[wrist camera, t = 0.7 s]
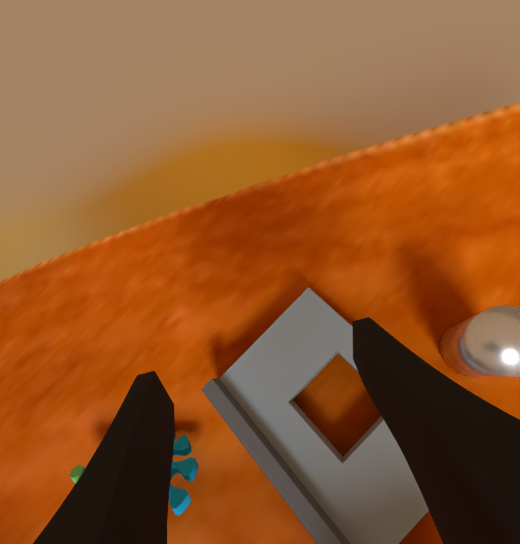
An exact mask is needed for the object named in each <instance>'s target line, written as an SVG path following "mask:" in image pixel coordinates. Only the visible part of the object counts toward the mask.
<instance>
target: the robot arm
mask: <svg viewBox="0 0 520 544" xmlns="http://www.w3.org/2000/svg"><path fill="white" fill-rule="evenodd" d="M353 360H354V363H355V365H356V367H357V370H358V372H359V375H360V377H361V379H362V381H363V384H364V386H365V387H366V389H367V391H368V393H369V395H370V396H371V398H372V400H373V402H374V403H375V405H376V407H377V409H378V410H379V412H380V414H381V416H382V417H383V419H384V421H385V423H386V424H387V426H388V428H389V430H390V431H391V433H392V435H393V437H394V438H395V440H396V442H397V443H398V445H399V447H400V449H401V451H402V453H403V455H404V457H405V459H406V461H407V463H408V465H409V467H410V470H411V472H412V474H413V476H414V478H415V480H416V483H417V485H418V487H419V489H420V491H421V494H422V496H423V498H424V500H425V502H426V505H427V507H428V509H429V511H430V514H431V516H432V518H433V520H434V523H435V525H436V527H437V530H438V532H439V534H440V537H441V539H442V541H443V544H520V420H519V419H517V418H515V417H513V416H511V415H509V414H508V413H506V412H504V411H502V410H500V409H499V408H497V407H495V406H493V405H492V404H490V403H488V402H486V401H485V400H483V399H481V398H480V397H478V396H476V395H475V394H473V393H471V392H470V391H468V390H466V389H465V388H463V387H462V386H460V385H459V384H457V383H455V382H454V381H452V380H451V379H449V378H448V377H446V376H445V375H444V374H442V373H441V372H439V371H438V370H436V369H435V368H433V367H432V366H431V365H429V364H428V363H426V362H425V361H424V360H422V359H421V358H420V357H418V356H417V355H416V354H414V353H413V352H412V351H410V350H409V349H408V348H406V347H405V346H404V345H403V344H401V343H400V342H399V341H398V340H396V339H395V338H394V337H393V336H391V335H390V334H389V333H388V332H387V331H385V330H384V329H383V328H382V327H381V326H379V325H378V324H377V323H376V322H375V321H373V320H372V319H371V318H369V317H368V318H364V319H360V320H356V321H353ZM174 435H175V425H174V404H173V402H172V400H171V399H170V397H169V395H168V393H167V392H166V390H165V388H164V386H163V385H162V383H161V381H160V380H159V378H158V376H157V374H156V373H155V371H153V372H149V373H145V374H141V375H137V377H136V378H135V380H134V382H133V384H132V386H131V388H130V390H129V392H128V394H127V396H126V397H125V399H124V401H123V403H122V405H121V407H120V409H119V411H118V413H117V415H116V416H115V418H114V420H113V422H112V424H111V425H110V427H109V429H108V431H107V433H106V434H105V436H104V438H103V440H102V442H101V443H100V445H99V447H98V448H97V450H96V452H95V453H94V455H93V457H92V458H91V460H90V462H89V463H88V465H87V467H86V468H85V470H84V471H83V473H82V475H81V476H80V478H79V479H78V481H77V482H76V484H75V486H74V487H73V489H72V490H71V492H70V493H69V495H68V496H67V497H66V499H65V500H64V502H63V503H62V505H61V506H60V508H59V509H58V510H57V512H56V513H55V515H54V516H53V517H52V519H51V520H50V522H49V523H48V524H47V526H46V527H45V528H44V530H43V531H42V532H41V534H40V535H39V536H38V538H37V539H36V540H35V542H34V543H33V544H167V514H168V500H169V490H170V479H171V469H172V458H173V447H174Z"/></svg>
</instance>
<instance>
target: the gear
mask: <svg viewBox="0 0 520 544" xmlns="http://www.w3.org/2000/svg"><path fill="white" fill-rule="evenodd" d="M175 438H176V436H175V435H174V439H175ZM190 453H191V445H190V442H189V440H188V438H187V436H186V435H185V436H182V437H180V438H179V439H178V440H177V441H176V442H175V443H174V447H173V456H174V455H180V456H187V455H189V454H190ZM84 470H85V468H84V467H83V466H82V465H78V466H76V467H75V468H74V469H73V470H72V471H71V473H70V477H71V478H72V480H73V481H74V483H75V484H76V482H77V481H78V479H79V478H80V476H81V475H82V473H83V471H84ZM197 470H198V464H197V462H196V459H194V458H188V459H186V460H184V461H180V462H172V469H171V478H172V477H173V476H174V475H175V474H178V473H180V474H182V475H183V477H184V479H185V480H187V481H192V480H194V478H195V477H196V474H197ZM170 480H171V479H170ZM169 497H170V506H171V507H172V509H173V511H174V513H175V514H176V515H180V514H182V513H183V512H184V510H185V509H186V508H187V507H188V505H189V504H190V502H191V499H190V497H189V495H188V493H187V491H186V490H185V489H179V488H175V487H173V486H172V485H171V484H170V490H169Z"/></svg>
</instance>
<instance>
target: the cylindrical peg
mask: <svg viewBox="0 0 520 544" xmlns="http://www.w3.org/2000/svg"><path fill="white" fill-rule="evenodd" d="M440 353H441V356H442V358H443V360H444V361H445V363H446V364H447V365H448V366H449V367H450V368H451V369H452V370H454V371H455V372H457V373H459V374H461V375H464V376H469V377H503V376H520V308H518V307H514V306H496V307H492V308H489V309H487V310H485V311H483V312H481V313H479V314H477V315H475V316H473V317H471V318H469V319H467V320H465V321H463V322H461V323H459V324H457V325H455V326H453V327H451V328H449V329H448V330H447V331H445V333H444V334H443V335H442V337H441V340H440Z"/></svg>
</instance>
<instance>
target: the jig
mask: <svg viewBox="0 0 520 544" xmlns="http://www.w3.org/2000/svg"><path fill="white" fill-rule="evenodd" d="M337 354H339V355H340V356H341V357H342V358H343V359H344V360H345V361H346V362H348V363H349V364H350V365H351V366H352V367H353V368H354V369H355V370H356V371H357V372H358V370H357V367H356V365H355V363H354V360H353V327H352V326H351V325H350V324H349V323H348V322H347V321H346V320H345V319H343V318H342V317H341V316H340V315H339V314H338V313H337V312H336V311H335V310H333V309H332V308H331V307H330V306H329V305H328V304H327V303H326V302H324V301H323V300H322V299H321V298H320V297H319V296H318V295H317V294H316V293H314V292H313V291H312V290H311V289H310V288H309V287H308V288H307V289H306V290H305V291H304V292H303V293H302V294H301V295H300V296H299V297H298V298H297V299H296V300H295V301H294V302H293V303H292V305H291V306H290V307H289V308H288V309H287V310H286V311H285V312H284V313H283V314H282V315H281V316H280V317H279V318H278V319H277V320H276V321H275V322H274V323H273V324H272V325H271V326H270V327H269V328H268V329H267V330H266V331H265V332H264V333H263V334H262V335H261V336H260V337H259V338H258V339H257V340H256V341H255V342H254V343H253V344H252V345H251V347H250V348H249V349H248V350H247V351H246V352H245V353H244V354H243V355H242V356H241V357H240V358H239V359H238V360H237V361H236V362H235V363H234V364H233V365H232V366H231V367H230V368H229V369H228V370H227V371H226V372H225V373H224V374H223V375H222V376H221V377H220V378H219V379H211V380H210V381H209V382H208V383H207V384H206V385H205V386H204V387H203V388H202V389H201V390H202V391H203V392H204V394H205V395H206V396H207V398H208V399H209V400H210V402H211V403H212V404H213V406H214V407H215V408H216V410H217V411H218V412H219V414H220V415H221V416H222V418H223V419H224V420H225V422H226V423H227V424H228V426H229V427H230V428H231V430H232V431H233V432H234V434H235V435H236V436H237V438H238V439H239V440H240V442H241V443H242V444H243V446H244V447H245V448H246V450H247V451H248V452H249V454H250V455H251V456H252V458H253V459H254V460H255V462H256V463H257V464H258V466H259V467H260V468H261V470H262V471H263V472H264V474H265V475H266V476H267V478H268V479H269V480H270V482H271V483H272V484H273V486H274V487H275V488H276V490H277V491H278V492H279V494H280V495H281V496H282V498H283V499H284V500H285V502H286V503H287V504H288V505H289V507H290V508H291V509H292V511H293V512H294V513H295V515H296V516H297V517H298V519H299V520H300V521H301V523H302V524H303V525H304V527H305V528H306V529H307V531H308V532H309V533H310V535H311V536H312V537H313V539H314V540H315V541H316V543H317V544H399V543H400V542H401V541H402V539H403V538H404V537H405V536H406V535H407V534H408V533H409V532H410V531H411V530H412V528H413V527H414V526H415V525H416V524H417V523H418V522H419V521H420V520H421V519H422V518H423V516H424V515H425V514H426V513H427V512H428V511H429V509H428V507H427V505H426V502H425V500H424V498H423V496H422V494H421V491H420V489H419V487H418V485H417V483H416V480H415V478H414V476H413V474H412V472H411V470H410V467H409V465H408V463H407V461H406V459H405V457H404V455H403V453H402V451H401V449H400V447H399V445H398V443H397V442H396V440H395V438H394V437H393V435H392V433H391V431H390V430H389V428H388V426H387V424H386V423H385V421H384V419H383V417H382V416H380V418H379V419H378V420H377V421H376V422H375V423H374V424H373V425H372V426H371V427H370V428H369V429H368V430H367V431H366V432H365V434H364V435H363V436H362V437H361V438H360V439H359V440H358V441H357V442H356V443H355V444H354V445H353V446H352V447H351V448H350V449H349V451H348V452H347V453H346V454H345V455H344V456H342V455H341V454H340V452H339V451H338V450H337V449H336V448H335V447H334V446H333V445H332V443H331V442H330V441H329V440H328V439H327V438H326V437H325V435H324V434H323V433H322V432H321V431H320V430H319V429H318V428H317V426H316V425H315V424H314V423H313V422H312V421H311V420H310V419H309V417H308V416H307V415H306V414H305V413H304V412H303V411H302V410H301V408H300V407H299V406H298V405H297V404H296V403H295V402H294V401H293V400H294V399H295V398H296V397H297V396H298V394H299V393H300V392H301V391H302V390H303V389H304V388H305V387H306V386H307V385H308V384H309V383H310V382H311V381H312V380H313V379H314V378H315V377H316V376H317V375H318V374H319V373H320V372H321V370H322V369H323V368H324V367H325V366H326V365H327V364H328V363H329V362H330V361H331V360H332V359H333V358H334V357H335V356H336V355H337ZM358 373H359V372H358Z"/></svg>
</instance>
